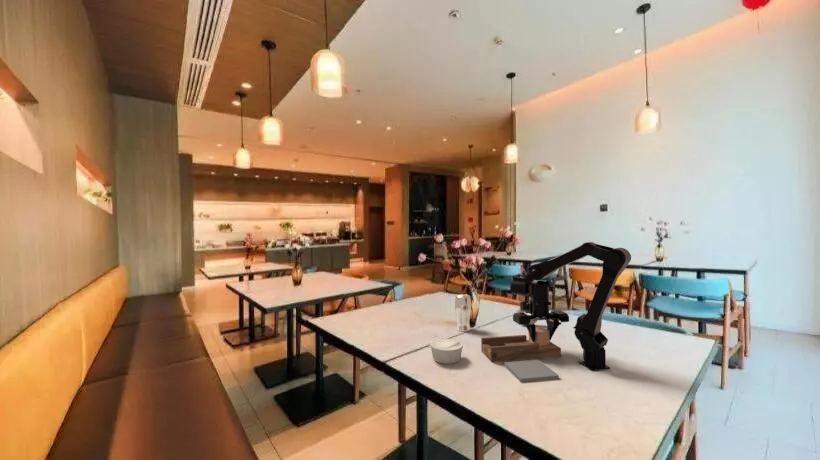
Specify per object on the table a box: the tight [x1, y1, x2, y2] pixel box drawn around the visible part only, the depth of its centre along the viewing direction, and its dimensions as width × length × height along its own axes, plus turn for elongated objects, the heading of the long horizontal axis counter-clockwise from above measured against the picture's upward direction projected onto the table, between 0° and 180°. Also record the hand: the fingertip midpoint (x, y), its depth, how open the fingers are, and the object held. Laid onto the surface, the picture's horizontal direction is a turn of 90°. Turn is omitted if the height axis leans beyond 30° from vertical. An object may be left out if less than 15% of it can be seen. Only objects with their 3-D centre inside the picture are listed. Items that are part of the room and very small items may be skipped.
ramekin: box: [429, 338, 464, 365], centre depth 118 cm, size 11×11×5 cm
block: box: [528, 326, 551, 346], centre depth 122 cm, size 5×5×5 cm
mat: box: [503, 359, 560, 383], centre depth 106 cm, size 12×12×1 cm
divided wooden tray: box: [480, 334, 562, 363], centre depth 120 cm, size 10×25×5 cm, turn 98°
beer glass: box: [454, 293, 472, 333], centre depth 149 cm, size 7×7×15 cm
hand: (541, 341), depth 121 cm, fingers closed on block, 5 cm apart
